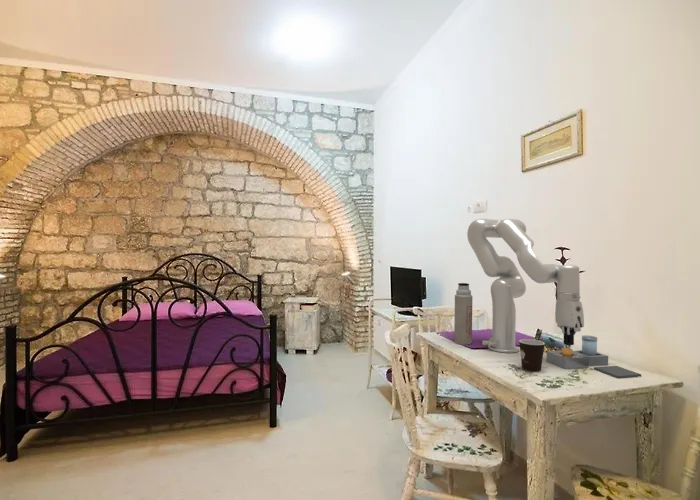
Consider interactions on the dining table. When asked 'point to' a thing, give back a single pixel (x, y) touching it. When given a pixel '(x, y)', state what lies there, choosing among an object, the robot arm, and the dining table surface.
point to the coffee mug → (531, 354)
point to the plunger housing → (567, 360)
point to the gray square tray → (595, 359)
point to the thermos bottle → (463, 315)
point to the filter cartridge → (589, 345)
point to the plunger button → (567, 351)
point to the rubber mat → (617, 371)
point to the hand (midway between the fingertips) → (568, 344)
